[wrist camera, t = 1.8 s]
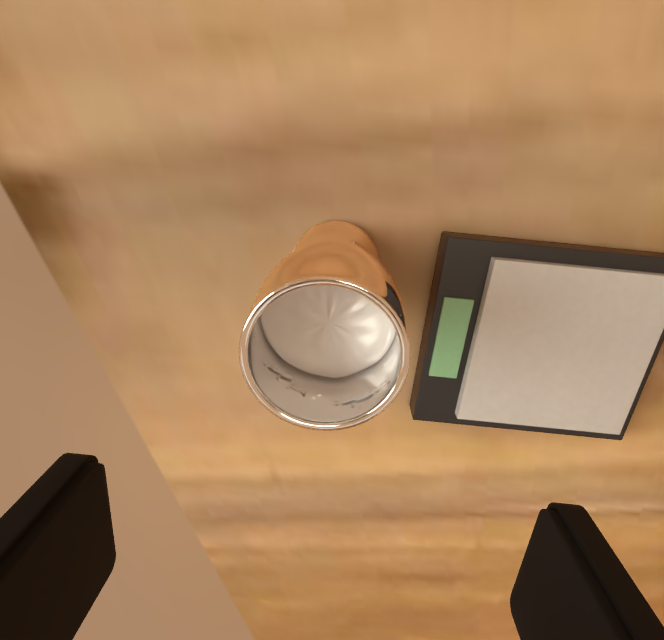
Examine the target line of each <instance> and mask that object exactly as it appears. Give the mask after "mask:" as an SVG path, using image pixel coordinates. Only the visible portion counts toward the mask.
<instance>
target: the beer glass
mask: <svg viewBox="0 0 664 640" xmlns="http://www.w3.org/2000/svg"><path fill="white" fill-rule="evenodd" d="M239 360H240V366H241V370H242V373H243V376H244V379H245V381H246V383H247V385H248V387H249V389H250V390H251V392H252V393H253V395H254V396H255V397H256V399H257V400H258V401H259V402H260V403H261V404H262V405H263V406H264V407H265V408H266V409H267V410H269V411H270V412H271V413H273V414H274V415H275V416H277V417H279V418H280V419H282V420H284V421H286V422H288V423H291V424H293V425H296V426H299V427H303V428H307V429H312V430H323V431H331V430H341V429H346V428H350V427H354V426H357V425H360V424H362V423H365V422H367V421H369V420H370V419H372V418H374V417H375V416H377V415H378V414H380V413H381V412H382V411H384V410H385V409H386V408H387V407H388V406H389V405H390V404H391V403H392V402H393V401H394V399H395V398H396V397H397V395H398V394H399V392H400V391H401V389H402V387H403V385H404V382H405V380H406V377H407V374H408V370H409V364H410V347H409V341H408V337H407V330H406V322H405V315H404V310H403V306H402V302H401V299H400V296H399V293H398V291H397V288H396V286H395V284H394V282H393V280H392V278H391V276H390V274H389V273H388V271H387V270H386V269H385V267H384V266H383V265H382V264H381V263H380V262H379V258H378V253H377V250H376V247H375V245H374V243H373V241H372V240H371V238H370V237H369V236H368V235H367V234H366V233H365V232H364V231H363V230H362V229H360V228H359V227H357V226H355V225H353V224H351V223H348V222H343V221H327V222H323V223H320V224H317V225H315V226H314V227H312V228H310V229H309V230H308V231H307V232H306V233H304V235H303V236H302V237H301V238H300V240H299V241H298V243H297V245H296V247H295V250H294V251H293V252H291V253H290V254H288V255H287V256H286V257H285V258H283V259H282V260H281V261H280V262H279V263H278V264H277V265H276V266H275V268H274V269H273V270H272V271H271V273H270V274H269V275H268V277H267V278H266V280H265V281H264V283H263V285H262V286H261V288H260V290H259V292H258V294H257V296H256V298H255V301H254V303H253V306H252V308H251V311H250V314H249V316H248V318H247V320H246V322H245V324H244V327H243V330H242V333H241V337H240V343H239Z"/></svg>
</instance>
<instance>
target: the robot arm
mask: <svg viewBox="0 0 664 640" xmlns="http://www.w3.org/2000/svg"><path fill="white" fill-rule="evenodd" d="M115 558H116V551H115V543H114V535H113V528H112V520H111V512H110V505H109V497H108V489H107V482H106V474H105V468H104V465H103V464H100V463H98V460H97V458H96V457H95V456H93V455H84V454H83V455H82V454H73V453H66V454H63V455H62V456H61V457H59V459H58V460H57V461H56V462H55V463H54V464H53V465H52V466H51V467H50V468H49V469H48V470H47V471H46V472H45V473H44V474H43V475H42V476H41V477H40V478H39V479H38V480H37V481H36V482H35V483H34V484H33V485H32V486H31V487H30V488H29V489H28V490H27V491H26V492H25V493H24V494H23V495H22V496H21V498H20V499H19V500H18V501H17V502H16V503H15V504H14V505H13V506H12V507H11V508H10V509H9V510H8V511H7V512H6V513H5V514H4V515H3V516H2V517H1V518H0V640H72V639H73V638H74V636H75V634H76V632H77V631H78V629H79V627H80V626H81V624H82V622H83V620H84V618H85V617H86V615H87V613H88V612H89V610H90V608H91V606H92V605H93V603H94V601H95V600H96V598H97V596H98V594H99V593H100V591H101V589H102V587H103V586H104V584H105V582H106V581H107V579H108V577H109V575H110V574H111V572H112V569H113V567H114V563H115ZM510 607H511V613H512V616H513V619H514V622H515V625H516V628H517V631H518V633H519V636H520V639H521V640H664V627H663V625H662V624H661V622H660V621H659V619H658V618H657V616H656V615H655V613H654V612H653V610H652V609H651V607H650V606H649V604H648V603H647V601H646V600H645V598H644V597H643V595H642V594H641V592H640V591H639V589H638V588H637V586H636V585H635V583H634V582H633V580H632V579H631V577H630V576H629V574H628V573H627V571H626V570H625V568H624V567H623V565H622V564H621V562H620V561H619V559H618V558H617V556H616V555H615V553H614V552H613V550H612V548H611V547H610V545H609V544H608V542H607V541H606V539H605V538H604V536H603V535H602V533H601V532H600V530H599V529H598V527H597V526H596V524H595V523H594V521H593V520H592V518H591V517H590V515H589V514H588V512H587V511H586V510H585V509H584V507H582V506H580V505H573V504H563V503H550V504H549V505H548V507H547V509H542V510H541V511H540V513H539V515H538V518H537V521H536V524H535V527H534V529H533V532H532V535H531V538H530V541H529V544H528V547H527V550H526V553H525V556H524V558H523V561H522V564H521V567H520V570H519V573H518V576H517V579H516V582H515V584H514V587H513V590H512V593H511V597H510Z"/></svg>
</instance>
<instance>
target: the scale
mask: <svg viewBox="0 0 664 640" xmlns="http://www.w3.org/2000/svg"><path fill="white" fill-rule="evenodd" d="M663 340H664V253H657V252H647V251H637V250H627V249H616V248H606V247H596V246H586V245H576V244H566V243H556V242H545V241H535V240H525V239H515V238H505V237H495V236H485V235H474V234H464V233H454V232H444V231H443V232H442V234H441V239H440V245H439V250H438V256H437V261H436V266H435V272H434V277H433V282H432V288H431V293H430V298H429V304H428V309H427V315H426V320H425V325H424V331H423V336H422V341H421V347H420V352H419V357H418V363H417V368H416V373H415V379H414V384H413V390H412V395H411V400H410V409H411V413H412V417H413V419H414V420H423V421H433V422H444V423H454V424H464V425H474V426H484V427H494V428H504V429H514V430H524V431H534V432H544V433H554V434H565V435H575V436H585V437H595V438H605V439H615V440H622V438H623V436H624V433H625V431H626V429H627V426H628V424H629V422H630V419H631V417H632V414H633V412H634V410H635V407H636V405H637V402H638V400H639V398H640V395H641V393H642V391H643V388H644V386H645V383H646V381H647V379H648V376H649V374H650V371H651V369H652V367H653V364H654V362H655V359H656V357H657V355H658V352H659V350H660V348H661V345H662V343H663Z"/></svg>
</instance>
